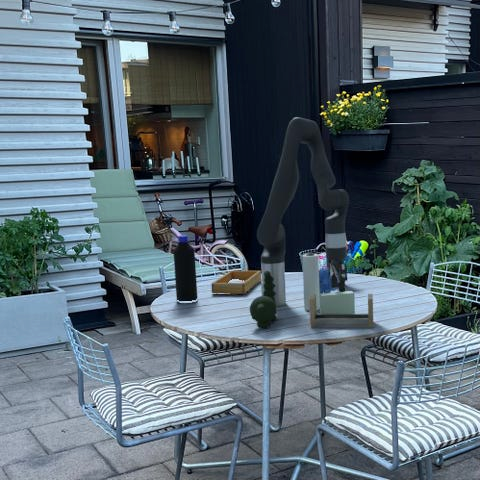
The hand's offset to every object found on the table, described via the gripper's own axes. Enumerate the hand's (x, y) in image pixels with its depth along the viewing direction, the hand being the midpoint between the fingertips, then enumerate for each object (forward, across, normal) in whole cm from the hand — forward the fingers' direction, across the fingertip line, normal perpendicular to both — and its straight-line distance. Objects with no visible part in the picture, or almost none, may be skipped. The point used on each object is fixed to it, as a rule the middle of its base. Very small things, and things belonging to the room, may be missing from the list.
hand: (338, 289), depth 225 cm
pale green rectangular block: (+10, 0, +1) cm, 10 cm away
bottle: (+9, +46, +52) cm, 70 cm away
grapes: (+10, +36, -6) cm, 38 cm away
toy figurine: (+10, +1, +27) cm, 29 cm away
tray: (+10, +65, +27) cm, 71 cm away
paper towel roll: (+10, +15, +6) cm, 19 cm away
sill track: (+10, -10, +2) cm, 15 cm away
